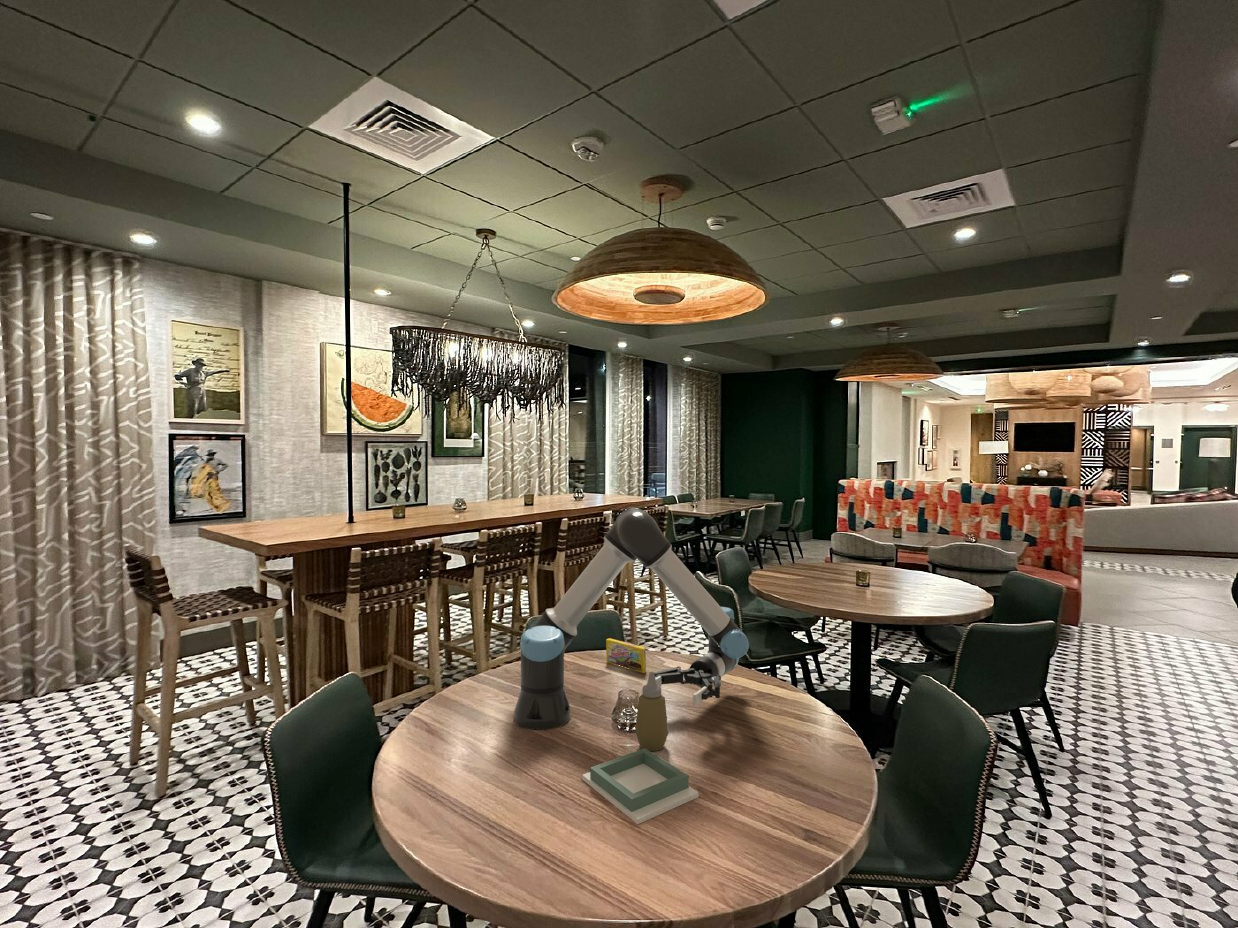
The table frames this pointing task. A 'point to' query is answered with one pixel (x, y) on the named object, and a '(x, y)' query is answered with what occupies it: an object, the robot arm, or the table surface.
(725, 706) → the table surface
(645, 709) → the squeeze bottle
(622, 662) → the candy box
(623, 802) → the collar stand
